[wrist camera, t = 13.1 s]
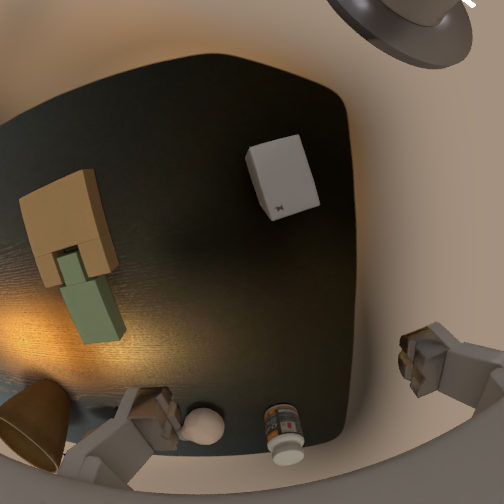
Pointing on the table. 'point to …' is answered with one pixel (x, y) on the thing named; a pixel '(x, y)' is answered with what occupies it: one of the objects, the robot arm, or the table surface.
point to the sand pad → (68, 226)
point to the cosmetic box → (282, 177)
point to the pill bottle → (284, 434)
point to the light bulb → (202, 427)
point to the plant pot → (37, 424)
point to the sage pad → (89, 301)
